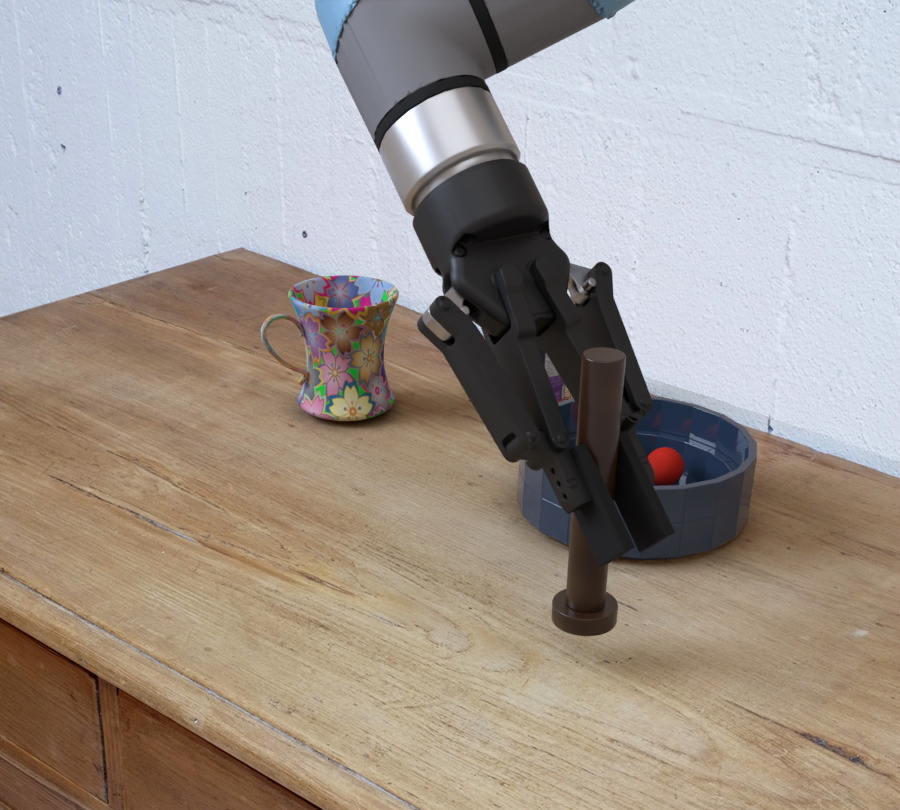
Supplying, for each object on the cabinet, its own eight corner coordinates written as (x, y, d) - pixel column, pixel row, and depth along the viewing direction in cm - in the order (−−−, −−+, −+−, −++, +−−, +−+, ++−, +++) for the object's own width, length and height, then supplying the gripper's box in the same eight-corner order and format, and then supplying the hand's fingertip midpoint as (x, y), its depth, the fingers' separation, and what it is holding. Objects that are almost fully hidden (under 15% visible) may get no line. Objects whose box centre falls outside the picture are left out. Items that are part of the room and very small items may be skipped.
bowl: (709, 460, 108) (718, 391, 105) (776, 561, 93) (789, 485, 90) (502, 466, 106) (505, 396, 103) (538, 570, 92) (542, 492, 88)
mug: (376, 383, 121) (375, 270, 116) (415, 420, 114) (415, 301, 109) (250, 402, 117) (243, 285, 112) (282, 441, 110) (276, 318, 104)
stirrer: (609, 601, 82) (631, 340, 74) (623, 635, 79) (648, 366, 70) (546, 604, 82) (561, 342, 73) (557, 638, 78) (575, 368, 70)
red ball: (676, 475, 104) (680, 440, 102) (686, 492, 101) (690, 456, 100) (639, 476, 104) (643, 441, 102) (648, 493, 101) (652, 457, 100)
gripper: (537, 208, 84) (695, 536, 81) (332, 245, 77) (499, 610, 74) (598, 137, 78) (772, 490, 75) (381, 169, 70) (566, 565, 67)
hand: (636, 549), depth 74 cm, fingers closed on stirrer, 2 cm apart
